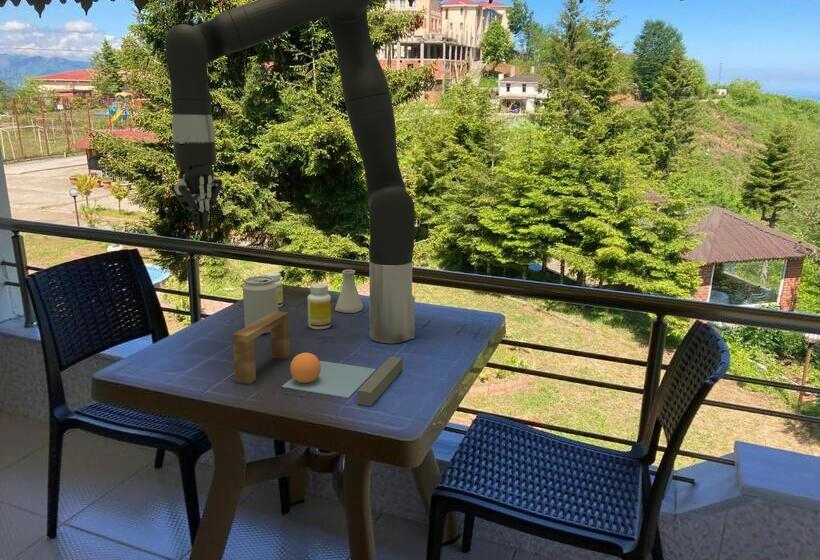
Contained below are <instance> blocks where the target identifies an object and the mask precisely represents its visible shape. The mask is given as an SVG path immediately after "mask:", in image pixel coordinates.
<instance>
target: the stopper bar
mask: <svg viewBox="0 0 820 560" xmlns="http://www.w3.org/2000/svg"><path fill="white" fill-rule="evenodd" d="M402 371H403V357H396V356H389V357H388V358H387V359H386V360H385V361H384V362H383V364H382V365H380V366H379V368H378V369H376V371H375V372H374V373H373V374H372V375H371V376H370V377H369V378H368V379H367V380H366V381H365V382H364V383H363V384H362V385H361V386H360V387H359V388H358V389H357V390H356V393H357V399H356V400H357V405H361V406H365V407H368V406H369V407H371V406H373V404H374V403H375V402H376V401H377V400H378V399H379V397H380V396H381V395H382V394H383V393H384V392H385V391H386V389H387V388H389V386H390V385H391V383H393V382H394V380H395V379H396V378H397V377H398V376H399V375H400V374H401V372H402Z"/></svg>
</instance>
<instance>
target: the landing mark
mask: <svg viewBox="0 0 820 560" xmlns="http://www.w3.org/2000/svg"><path fill="white" fill-rule="evenodd" d="M319 361H320V365H321V371H320V374H319V376H318V377H317V378H316V379H315V380H314V381H312V382H310V383H300V382H298V381H296V380H295V379H294V378H293V377H292V378H291V379H289V380H288V381H286V382H285V383H284V384H283V385H281V388H282V387H283V388H284V389H289V388H290V389H289V390H295V391H302V392H308V393H315V394H319V395H325V396H331V397H337V398H344V399H350V398H351V396H353V395H354V393H355V392H357V390H358V389H359V388H360V387H361V386H362V385H363V384H364V383H365V382H366V381H367V380H368V379H369V378H370V377H371V376H372V375H373V374H374V373H375V372H376V371H377V369H376V368H371V367H366V366H365V367H364V366H359V365H352V364H344V363H339V362H337V363H336V362H332V361H331V362H330V361H323V360H319ZM283 388H282V389H283Z"/></svg>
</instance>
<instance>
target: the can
mask: <svg viewBox="0 0 820 560" xmlns="http://www.w3.org/2000/svg"><path fill="white" fill-rule="evenodd" d="M273 280H274V278H272V277H269V276H264V275H254V276H250V277H249V276H248V277H247V278H245V280H244V284H243V285H242V300H243V302H242V303H243V315H244V317H243V319H244V328H245V327H246V326H248V325H250V324H252V323H254V322H256V321H257V320H259V319H261V318H263V317H265V316H266V315H268V314H270V313H272V312H274V311H279V307H278V298H277V284H276V283H275V282H274V281H273ZM269 333H270V334H271V331H270V330H268V331H266V332H265V333H263V334H269ZM263 334H262V335H263Z"/></svg>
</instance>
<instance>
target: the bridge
mask: <svg viewBox="0 0 820 560" xmlns="http://www.w3.org/2000/svg"><path fill="white" fill-rule="evenodd" d="M289 320H290V319H289V312H288V311H280V310H278V311H274V312H272V313H270V314H268V315H266V316H265V317H263V318H261V319H259V320H257V321H256V322H254V323H252V324H250V325H248V326H246V327H245V326H244V327H243V328H241V329H239V330H237V331H236V332H234V333H233V334H232V345H233V362H234V377H235V383H241V384H247V385H251V384H253V383H254V382H256V381H257V371H256V369H257V368H256V355H255V339H256V338H258V337H259V336H261V335H263V333H265V332H266V331H268V330H270V331H271V332H270V348H271V349H270V350H271V358H273V359H274V358H275V359H280V360H281V359H282V360H286V359H288V358H289V357H291V348H290V347H291V346H290V324H289V323H290V321H289ZM265 334H266V333H265Z"/></svg>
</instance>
